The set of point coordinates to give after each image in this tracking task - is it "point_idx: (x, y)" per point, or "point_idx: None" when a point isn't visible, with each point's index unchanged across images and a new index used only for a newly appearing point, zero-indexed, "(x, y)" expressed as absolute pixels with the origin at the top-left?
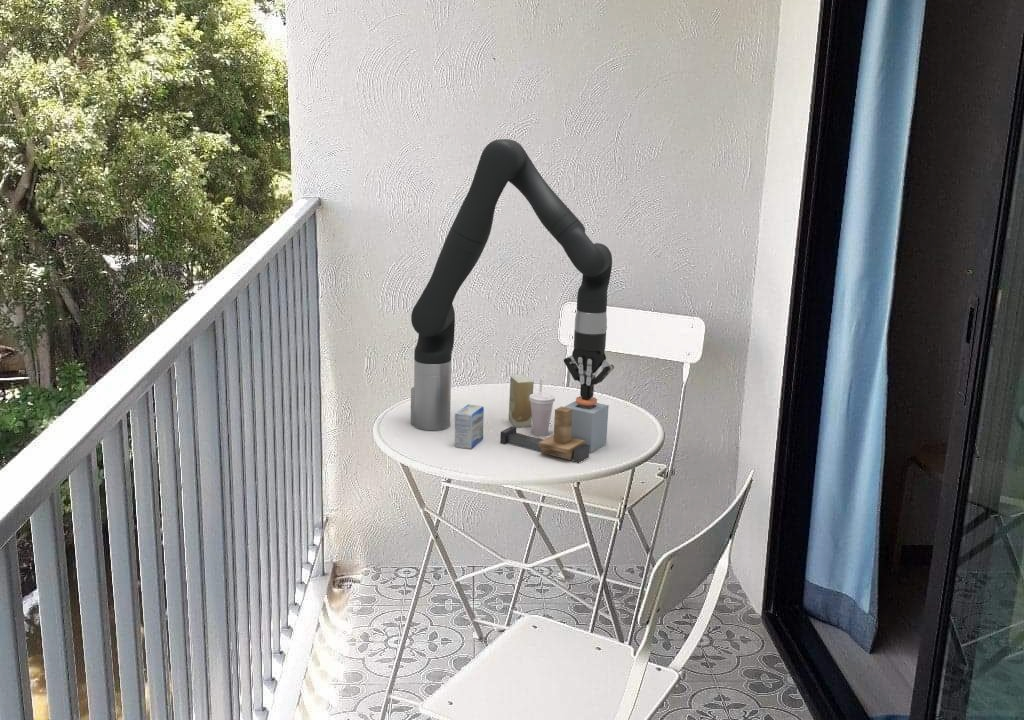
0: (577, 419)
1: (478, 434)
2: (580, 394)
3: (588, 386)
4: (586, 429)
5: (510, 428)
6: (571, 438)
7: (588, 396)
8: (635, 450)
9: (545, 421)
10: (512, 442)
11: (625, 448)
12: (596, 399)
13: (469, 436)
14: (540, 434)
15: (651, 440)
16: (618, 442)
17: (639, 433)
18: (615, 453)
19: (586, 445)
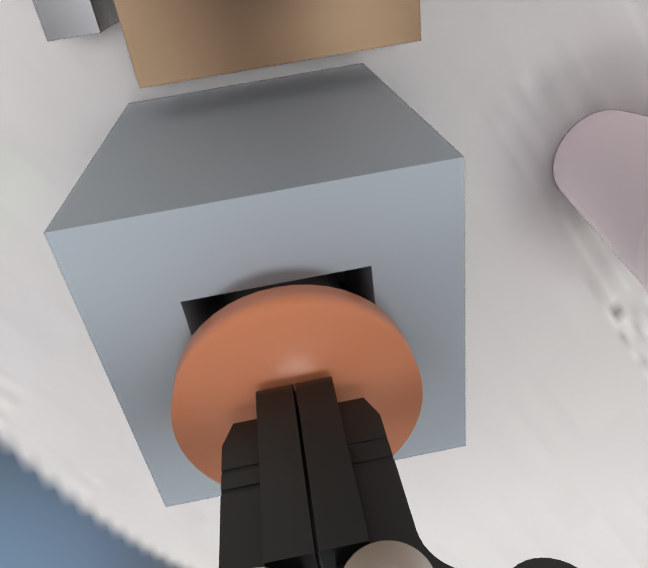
0: (255, 155)
1: None
2: (375, 413)
3: (268, 563)
4: (151, 148)
5: None
6: (248, 36)
7: (253, 435)
8: (8, 346)
9: (607, 170)
10: None
11: (68, 329)
12: (216, 476)
13: None
14: (582, 123)
15: (85, 488)
16: None
17: (194, 506)
18: (32, 227)
19: (57, 13)
